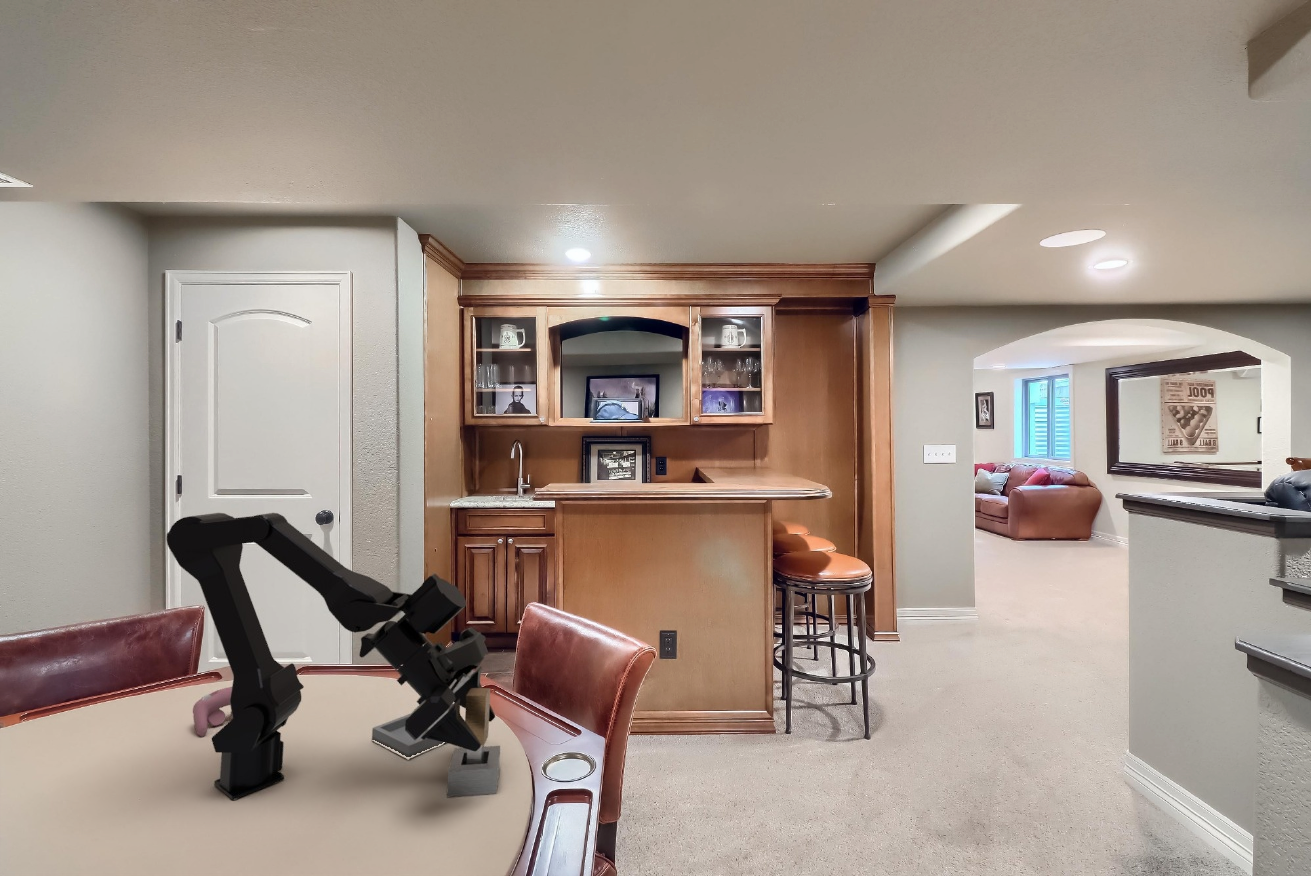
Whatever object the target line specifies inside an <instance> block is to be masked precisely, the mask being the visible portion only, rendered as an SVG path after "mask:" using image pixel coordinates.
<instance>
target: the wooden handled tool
mask: <svg viewBox="0 0 1311 876" xmlns="http://www.w3.org/2000/svg"><path fill="white" fill-rule="evenodd" d="M490 701H491V687H490V688H486V687H484V688H483V687H482V688H471V689H470V691H469V692H468V694H467V695H466V709H465V712H464V713H465V714H464V715H465V716H464V721H465V722H466V723H467V725H468V726H469V727H470V729H471V730H472V731H473V733H474V734H475V736H476V737H477V739H478V740H479V742H480V743H481V747H480V748H479V749H478V750H477V751H471V750H468V749H467V765H472V764H484V747H485V744H486V742H487V739H488V737H489V725H490V722H489V706H490V705H491V704H490V703H491V702H490Z"/></svg>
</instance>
